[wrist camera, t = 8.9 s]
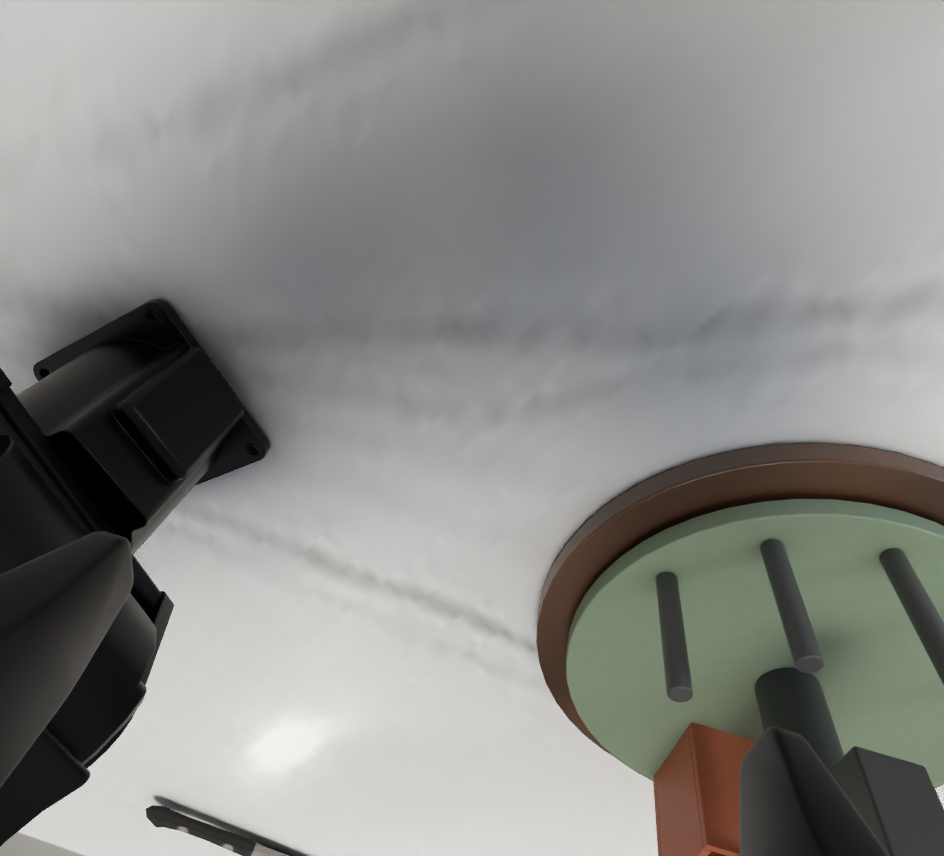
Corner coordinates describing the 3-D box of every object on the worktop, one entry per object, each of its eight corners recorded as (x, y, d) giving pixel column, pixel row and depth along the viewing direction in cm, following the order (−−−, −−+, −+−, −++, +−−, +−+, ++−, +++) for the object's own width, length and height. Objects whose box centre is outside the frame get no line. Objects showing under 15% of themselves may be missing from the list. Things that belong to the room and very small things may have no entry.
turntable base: (480, 696, 30) (477, 715, 29) (662, 362, 20) (664, 377, 19) (848, 826, 30) (855, 849, 30) (1199, 561, 21) (1225, 584, 20)
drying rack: (873, 833, 28) (998, 1207, 19) (521, 729, 29) (484, 1050, 20) (1158, 582, 20) (1614, 1040, 11) (654, 439, 20) (695, 770, 11)
